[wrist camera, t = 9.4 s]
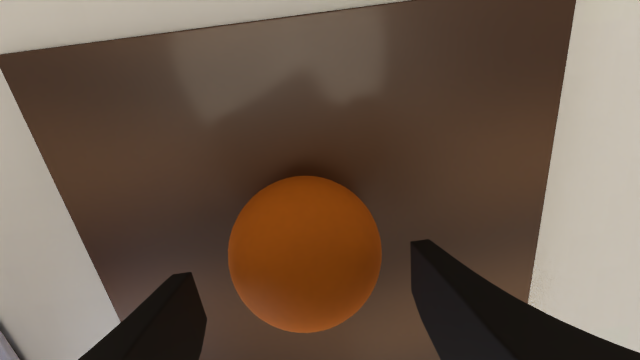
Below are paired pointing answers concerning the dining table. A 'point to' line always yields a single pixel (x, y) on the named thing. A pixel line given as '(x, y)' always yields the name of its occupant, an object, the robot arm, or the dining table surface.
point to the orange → (304, 254)
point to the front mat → (306, 150)
